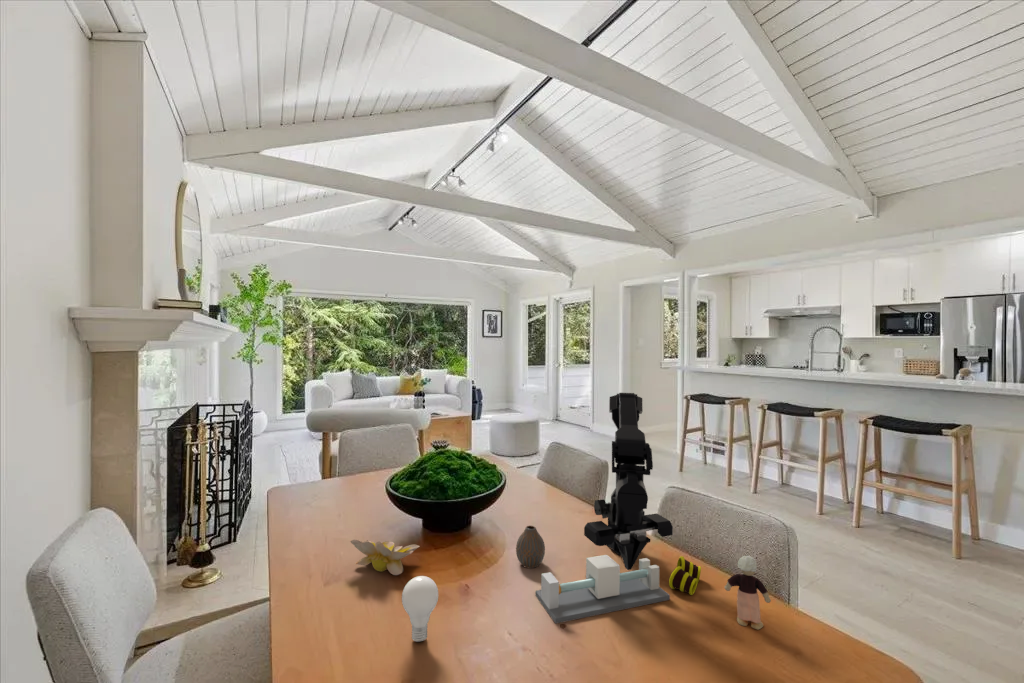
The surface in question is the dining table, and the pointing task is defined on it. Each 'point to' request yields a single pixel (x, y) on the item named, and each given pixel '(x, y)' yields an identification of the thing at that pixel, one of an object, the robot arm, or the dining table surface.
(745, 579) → the grandmother figurine
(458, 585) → the dining table surface
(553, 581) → the linear slide rail
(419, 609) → the lightbulb
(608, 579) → the white square tube
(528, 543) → the vase
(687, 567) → the opera glasses
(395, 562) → the decorative flower
